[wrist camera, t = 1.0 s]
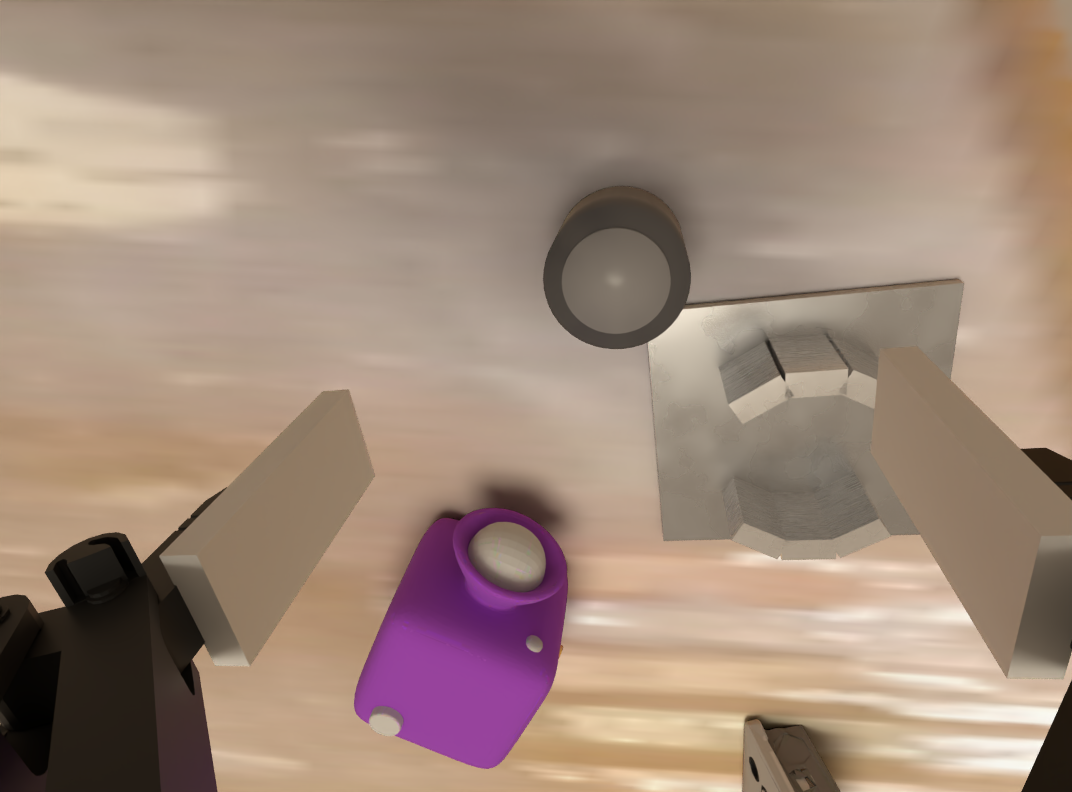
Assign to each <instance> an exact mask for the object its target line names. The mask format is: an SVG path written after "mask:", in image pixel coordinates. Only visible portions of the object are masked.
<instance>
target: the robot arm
mask: <svg viewBox="0 0 1072 792" xmlns="http://www.w3.org/2000/svg"><path fill="white" fill-rule="evenodd" d="M871 454H872V455H873V457H874V459H875V460H876V462H877V464H878V465H879V467H880V469H881V470H882V472H883V474H884V475H885V477H886V479H887V480H888V482H889V484H890V485H891V487H892V489H893V490H894V492H895V494H896V495H897V497H898V499H899V500H900V502H901V504H902V505H903V507H904V509H905V510H906V512H907V513H908V515H909V517H910V518H911V520H912V522H913V523H914V525H915V527H916V528H917V530H918V532H919V533H920V535H921V537H922V538H923V540H924V542H925V543H926V545H927V547H928V548H929V550H930V552H931V553H932V555H933V557H934V558H935V560H936V562H937V563H938V565H939V567H940V568H941V570H942V572H943V573H944V575H945V577H946V578H947V580H948V581H949V583H950V585H951V586H952V588H953V590H954V591H955V593H956V595H957V596H958V598H959V600H960V601H961V603H962V605H963V606H964V608H965V610H966V611H967V613H968V615H969V616H970V618H971V620H972V621H973V623H974V625H975V626H976V628H977V630H978V631H979V633H980V635H981V636H982V638H983V640H984V641H985V643H986V644H987V646H988V648H989V649H990V651H991V653H992V654H993V656H994V658H995V659H996V661H997V663H998V664H999V666H1000V668H1001V669H1002V671H1003V673H1004V674H1005V676H1006V678H1009V679H1064V676H1065V673H1066V669H1067V666H1068V663H1069V659H1070V656H1071V652H1072V460H1070V459H1068V458H1066V457H1064V456H1062V455H1060V454H1058V453H1056V452H1054V451H1051V450H1049V449H1047V448H1031V449H1020V448H1019V447H1018V446H1017V445H1016V444H1015V443H1014V442H1013V441H1012V440H1011V439H1010V438H1009V437H1008V436H1007V435H1006V434H1005V433H1004V432H1002V431H1001V430H1000V429H999V428H998V427H997V426H996V425H995V424H994V423H993V422H992V421H991V420H990V419H989V418H988V417H987V416H986V415H985V414H984V413H983V412H982V411H981V410H980V409H979V408H978V407H977V406H976V405H975V404H974V403H973V402H972V401H971V400H970V399H969V398H968V397H967V396H966V395H965V394H964V393H963V392H962V391H961V390H960V389H959V388H958V387H957V386H956V385H955V384H954V383H953V382H952V381H951V380H950V379H949V378H948V377H947V376H946V375H945V374H944V373H943V372H942V371H941V370H940V369H939V368H938V367H937V366H936V365H935V364H934V363H933V362H932V361H931V360H930V359H929V358H928V357H927V356H926V355H925V354H924V353H923V352H922V351H921V350H920V349H919V348H918V347H917V346H911V347H898V348H885V349H880V353H879V364H878V375H877V386H876V397H875V408H874V419H873V431H872V442H871ZM374 477H375V473H374V470H373V467H372V464H371V460H370V457H369V454H368V451H367V447H366V444H365V441H364V437H363V434H362V431H361V428H360V424H359V421H358V418H357V415H356V411H355V408H354V405H353V402H352V398H351V395H350V392H349V390H336V391H323V392H322V393H321V394H320V395H319V396H318V397H317V398H316V399H315V400H314V401H313V402H312V403H311V404H310V405H309V406H308V407H307V408H306V409H305V410H304V411H303V412H302V413H301V414H300V415H299V416H298V417H297V418H296V419H295V420H294V421H293V422H292V423H291V424H290V425H289V426H288V427H287V428H286V429H285V430H284V431H283V432H282V433H281V434H280V435H279V436H278V437H277V438H276V439H275V440H274V441H273V442H272V443H271V444H270V445H269V446H268V447H267V448H266V449H265V450H264V451H263V452H262V453H261V454H260V455H259V456H258V457H257V458H256V459H255V460H254V461H253V462H252V463H251V464H250V465H249V466H248V467H247V468H246V469H245V470H244V471H243V472H242V473H241V474H240V475H239V476H238V477H237V478H236V479H235V480H234V481H233V482H232V483H231V484H230V485H229V486H228V487H226V488H225V489H223V490H222V491H220V492H219V493H217V494H215V495H214V496H212V497H211V498H209V499H208V500H206V501H205V502H204V503H203V504H202V505H201V506H200V507H199V508H198V509H197V510H196V511H195V512H194V513H193V514H192V515H191V518H190V519H187V520H186V521H185V522H184V523H183V524H182V525H181V526H180V527H179V528H178V531H175V532H174V533H172V534H171V535H170V536H169V537H168V538H167V539H166V540H165V541H164V542H163V543H162V544H161V545H160V546H159V547H158V548H157V549H156V550H155V551H154V552H153V553H152V554H151V555H150V556H149V557H148V558H147V559H146V560H145V561H144V562H143V563H142V564H141V563H140V561H139V559H138V557H137V555H136V553H135V551H134V549H133V547H132V546H131V544H130V542H129V540H128V538H127V537H126V535H125V534H121V533H117V532H115V533H106V534H101V535H98V536H95V537H92V538H88V539H86V540H84V541H82V542H80V543H78V544H76V545H73V546H72V547H70V548H69V549H67V550H66V551H64V552H63V553H61V554H60V555H58V556H57V557H56V558H55V559H54V560H53V561H52V562H51V563H50V564H49V566H48V568H47V569H46V571H45V574H46V575H47V577H48V579H49V580H50V582H51V583H52V585H53V587H54V588H55V590H56V592H57V593H58V595H59V596H60V598H61V600H62V601H63V603H64V604H65V606H66V607H62V608H58V609H54V610H50V611H45V612H41V613H38V612H37V611H36V609H35V608H34V606H33V605H32V603H31V602H30V600H29V599H28V598H27V597H26V596H25V595H11V596H6V597H2V598H0V723H1V724H0V792H217V786H216V780H215V773H214V767H213V760H212V754H211V747H210V741H209V734H208V728H207V721H206V715H205V708H204V702H203V695H202V689H201V682H200V676H199V672H198V670H197V668H196V666H195V664H194V662H193V660H192V659H193V657H194V656H195V655H196V653H197V652H198V651H199V649H200V648H201V647H202V646H203V644H205V646H206V648H207V650H208V652H209V654H210V656H211V658H212V660H213V662H214V664H215V666H250V665H251V664H252V662H253V661H254V659H255V658H256V656H257V655H258V653H259V652H260V650H261V649H262V647H263V646H264V644H265V643H266V641H267V640H268V638H269V637H270V635H271V633H272V632H273V630H274V629H275V627H276V626H277V624H278V623H279V621H280V620H281V618H282V617H283V615H284V614H285V612H286V611H287V609H288V608H289V606H290V605H291V603H292V602H293V600H294V599H295V597H296V595H297V594H298V592H299V591H300V589H301V588H302V586H303V585H304V583H305V582H306V580H307V579H308V577H309V576H310V574H311V573H312V571H313V570H314V568H315V567H316V565H317V564H318V562H319V560H320V559H321V557H322V556H323V554H324V553H325V551H326V550H327V548H328V547H329V545H330V544H331V542H332V541H333V539H334V538H335V536H336V535H337V533H338V532H339V530H340V529H341V527H342V525H343V524H344V522H345V521H346V519H347V518H348V516H349V515H350V513H351V512H352V510H353V509H354V507H355V506H356V504H357V503H358V501H359V500H360V498H361V497H362V495H363V494H364V492H365V490H366V489H367V487H368V486H369V484H370V483H371V481H372V480H373V478H374ZM1022 792H1072V681H1071V683H1070V685H1069V687H1068V690H1067V692H1066V694H1065V696H1064V698H1063V701H1062V703H1061V705H1060V707H1059V710H1058V712H1057V714H1056V716H1055V718H1054V721H1053V723H1052V725H1051V727H1050V729H1049V732H1048V734H1047V736H1046V738H1045V741H1044V743H1043V745H1042V747H1041V749H1040V752H1039V754H1038V756H1037V758H1036V761H1035V763H1034V765H1033V767H1032V769H1031V772H1030V774H1029V776H1028V778H1027V780H1026V783H1025V785H1024V787H1023V789H1022Z"/></svg>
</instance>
